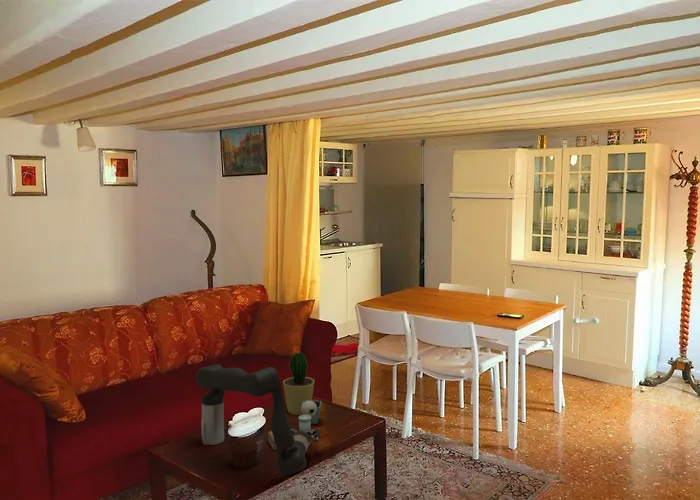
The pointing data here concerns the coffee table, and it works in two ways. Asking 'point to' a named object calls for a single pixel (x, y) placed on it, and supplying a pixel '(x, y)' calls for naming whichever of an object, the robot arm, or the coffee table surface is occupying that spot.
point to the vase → (305, 424)
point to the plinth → (271, 440)
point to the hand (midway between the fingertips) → (304, 428)
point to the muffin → (243, 452)
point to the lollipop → (309, 408)
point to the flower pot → (316, 417)
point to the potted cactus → (298, 385)
